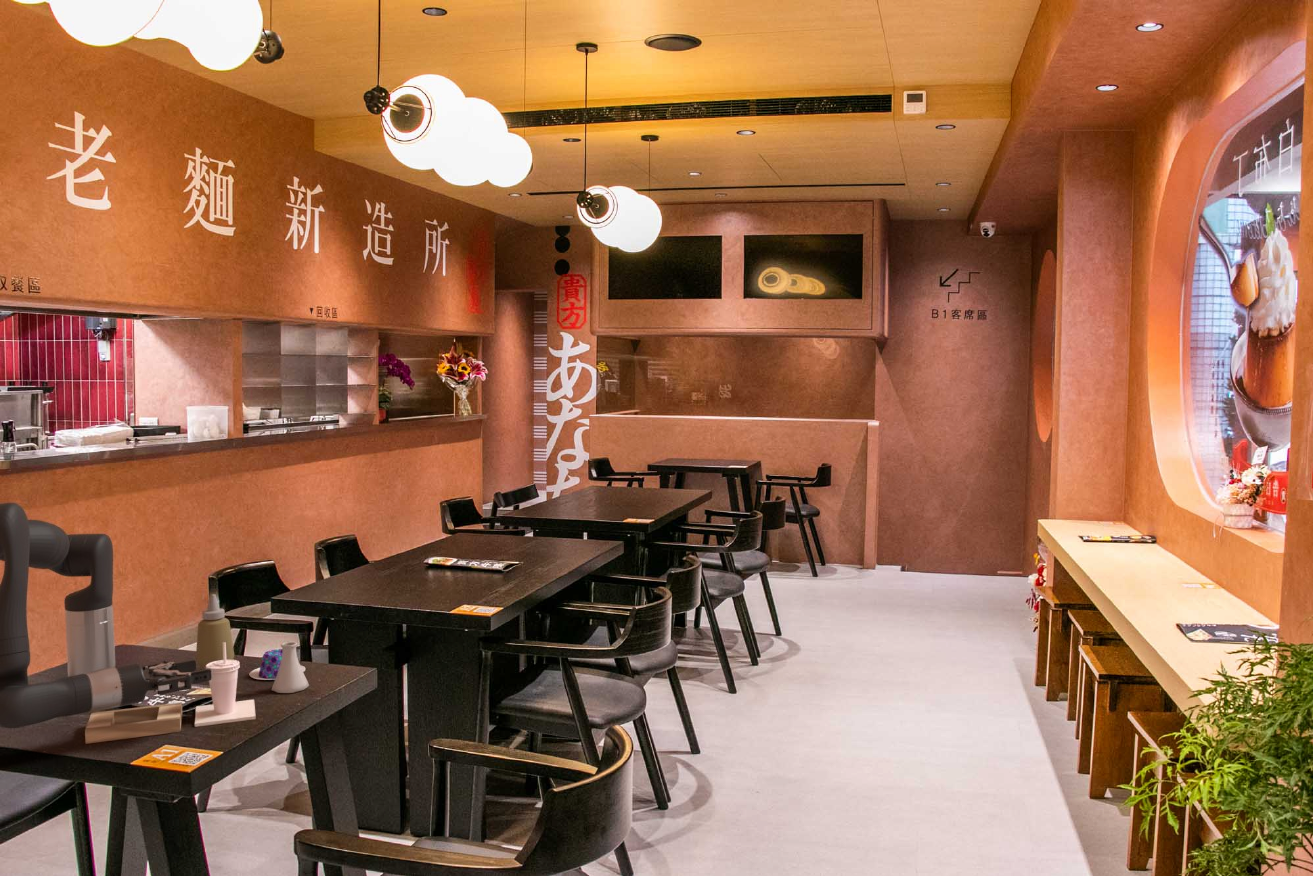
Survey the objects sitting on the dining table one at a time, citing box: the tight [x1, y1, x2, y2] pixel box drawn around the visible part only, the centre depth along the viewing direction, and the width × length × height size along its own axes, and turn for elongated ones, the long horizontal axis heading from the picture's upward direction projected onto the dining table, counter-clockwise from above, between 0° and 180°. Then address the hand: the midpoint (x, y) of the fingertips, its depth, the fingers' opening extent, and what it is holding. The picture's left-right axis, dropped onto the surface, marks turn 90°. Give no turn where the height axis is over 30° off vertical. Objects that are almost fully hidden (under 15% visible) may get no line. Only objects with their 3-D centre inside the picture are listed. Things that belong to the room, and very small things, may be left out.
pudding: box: [248, 648, 306, 681], centre depth 235 cm, size 12×12×5 cm
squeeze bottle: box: [195, 593, 235, 670], centre depth 235 cm, size 8×8×18 cm
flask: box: [271, 641, 310, 694], centre depth 224 cm, size 7×7×10 cm
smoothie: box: [206, 642, 241, 714], centre depth 208 cm, size 6×6×14 cm
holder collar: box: [84, 701, 183, 744], centre depth 200 cm, size 10×16×2 cm, turn 113°
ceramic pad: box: [194, 699, 257, 728], centre depth 208 cm, size 11×11×1 cm
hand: (202, 669), depth 205 cm, fingers open, 8 cm apart
